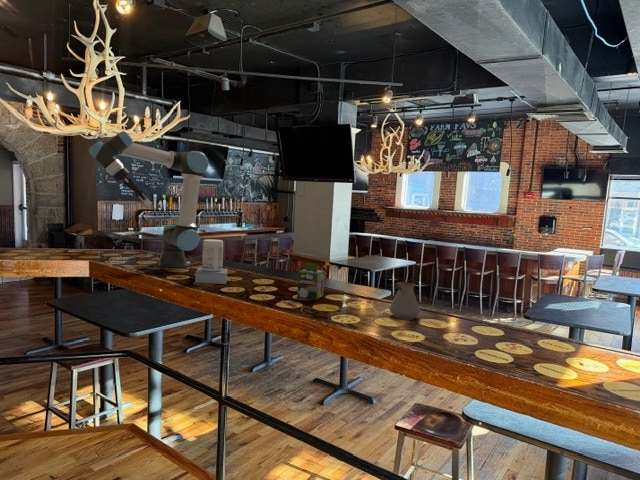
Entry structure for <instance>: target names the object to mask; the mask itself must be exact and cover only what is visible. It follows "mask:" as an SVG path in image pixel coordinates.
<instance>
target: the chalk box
mask: <svg viewBox="0 0 640 480" xmlns="http://www.w3.org/2000/svg"><path fill="white" fill-rule="evenodd" d="M305 265H306V269H302V270H299V271H298V273H297V274H298V277H297V294H296V295H297V298H302V299H309V300H314V301H317V300H318V299H320V298H322V297H324V288H325V287H324V286H325V283H324V282H325V270H320V269H318V268H317V267H318V266H317V263H310V262H307V263H306V264H305ZM310 267H313V268H310Z"/></svg>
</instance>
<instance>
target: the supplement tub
mask: <svg viewBox="0 0 640 480" xmlns="http://www.w3.org/2000/svg"><path fill="white" fill-rule="evenodd" d="M223 259H224V241H223V240H222V239H208V238H207V239H204V240H203V243H202V260H201V261H202V262H201V263H202V267H201V268H202V269H203V270H204V271H209V272H218V271H221V270H222V269H223V266H224V265H223V261H224V260H223Z"/></svg>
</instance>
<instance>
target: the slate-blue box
mask: <svg viewBox="0 0 640 480" xmlns="http://www.w3.org/2000/svg"><path fill="white" fill-rule="evenodd" d="M194 278H195V280H194V283H195V284H215V285H218V284H219V285H226V284H227V280H228V268H222V270H221V271H218V272H209V271H204V270H203V269H202V267H198V268H197V269H196V271H195V277H194Z"/></svg>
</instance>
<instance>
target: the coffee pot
mask: <svg viewBox="0 0 640 480" xmlns="http://www.w3.org/2000/svg"><path fill="white" fill-rule="evenodd" d="M392 285H394V286H395V288H396V289H398V290H397V292H396V294H395V296H394V298H393V300H392V302H391V303H390V305H389V308H388V309H389V312H390V313H391V314H392V315H393V317H394V318H397V319H400V320H409V321H410V320H414V319H415V318H416V317H418V316H419V315H420V312H421V309H420V307H419V304H418V301H417V297H416V294H415V291H414V288H415V287H416V284H415V283H413V282H407V281H399V282H393V283H392Z"/></svg>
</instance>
